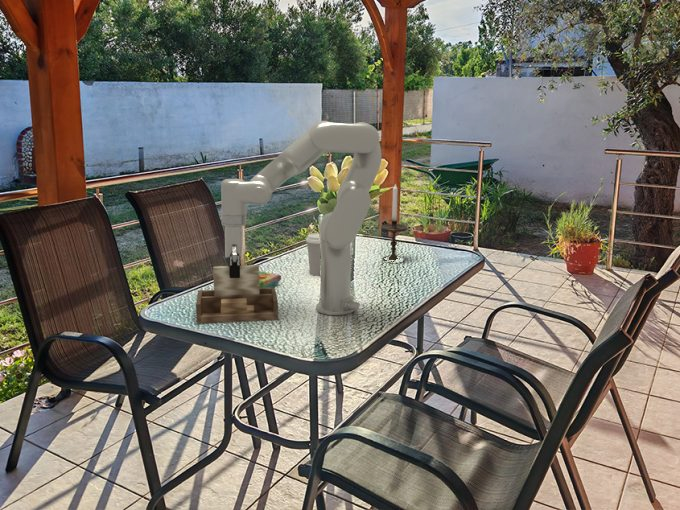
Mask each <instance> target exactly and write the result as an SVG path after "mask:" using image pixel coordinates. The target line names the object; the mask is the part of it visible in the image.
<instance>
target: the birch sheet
mask: <svg viewBox="0 0 680 510" xmlns="http://www.w3.org/2000/svg"><path fill="white" fill-rule="evenodd" d="M212 269H213V270H212V271H213V272H212V273H213V275H212V276H213V290H214V296H232V295H256V294H260V292H259V271H260V265H259V264H256V265H254V264H252V265H251V264H250V265H249V264H247V265H240V278H230V277H229V265H225V266H224V265H221V266H213V267H212Z"/></svg>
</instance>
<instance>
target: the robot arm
mask: <svg viewBox="0 0 680 510" xmlns="http://www.w3.org/2000/svg"><path fill="white" fill-rule="evenodd" d="M326 152H327V153H339V154H342V153H344V154H345V153H346V154H353V159H352V161H351V164H350V167H349V169H348V171H347V173H346V175H345V177H344V178H343V181H342V183H341V185H340V187H339V188H338V190H337V193H336V205H335V206H334V209H332V211H330V212H328V213H327V214H325V215H324V216H323V217H322V219H321V221H320V225H319V233H320V242H321V276H320V302H318V303H317V304H315V310H316V311H317V312H318V313H320V314H322V315H327V316H343V315H348V314H352V313H353V312H354V311H358V310H359V308H360V302H358V301H354V296H353V295H351V276H352V275H351V274H352V273H351V272H352V271H351V265H352V264H351V263H352V245H351V244H352V243H353V242H354V240H355V238H356V236H357V235H358V233H359V232H360V229H361V227H362V225H363V223H364V221H365V218H366V217H367V215H368V213H369V211H370V207H371V201H372V199H371V196H370V191H371V189H372V187H373V185H374V183H375V179H376V178H377V175H378V173H379V172H380V171H379V170H380V168H381V163H382V148H381V144H380V133H379V132H378V130H377V128H376V127H375V126H373V125H372V124H370V123H368V122H367V123H366V122H363V121H360V122H355V123H340V122H332V121H331V122H330V121H327V120H320V121H317V122H316V123H314V124H313V125H312V126H311V127H309V128H308V130H306V131H305V132H303V134H301V135H300V136H299V137H298V138H297V139H296V140H294V142H292V143H291V144H290V145H289V146H288V147H286V148H285V149H284V150H283V151H282V152H280V154H279V155H278V156H277V157H275V158H274V159H273V160H271V162H269V163H268V164H267V165H266V166H265V167H264V168H262V169H261V170H260V171H259V172H258V173H256V175H254V176H253V177H252V178H251V179H250V180H249V181H246V180H244V179H242V178H225V179H223V180H222V181H221V183H220V191H221V193H220V195H221V197H220V198H221V200H220V201H221V204H220V205H221V226H224V257H225V259H228V258H229V259H228V260H229V263H228V266H229V277H230V278H240V266H241V265H240V262H241V261H240V260H241V259H240V258H242V253H243V252H242V251H243V236H244V235H243V232H244V231H243V229H244V227H245V226H246V225H247V204H248V205H254V206H263V205H265V204H267V203H268V202H269V201H270V200H271V198H272V194H273V193H274V192H275V191H276V190H277V189H278V188H279V187H281V185H283V184H284V183H285V182H287V181H288V180H289V179H291V178H293V177H295V176H298V175H301V173H303V172H305V171H306V170H307V169H308V168H309V167H311V166H312V164H314V163H315V162H316V161H317V160H318V159H319V158H321V157H322V156H323V155H324V154H326Z"/></svg>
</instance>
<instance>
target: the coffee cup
mask: <svg viewBox="0 0 680 510" xmlns="http://www.w3.org/2000/svg"><path fill="white" fill-rule="evenodd" d="M319 233H320V232H315V233H309V234H308V235H307V237H306V238H305V242H306V245H307V255H308V266H309V275H312V276H314V275H315V277H317V276H318V277H321V276H320V240H319V238H320V237H319Z"/></svg>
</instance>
